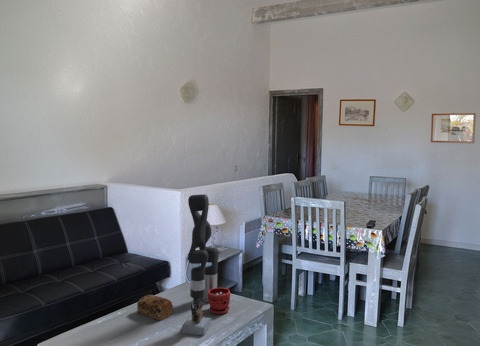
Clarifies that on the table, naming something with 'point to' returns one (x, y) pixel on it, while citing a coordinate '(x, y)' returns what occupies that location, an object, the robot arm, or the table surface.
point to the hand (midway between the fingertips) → (197, 318)
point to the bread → (155, 307)
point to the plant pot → (219, 300)
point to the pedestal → (196, 326)
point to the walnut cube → (199, 315)
